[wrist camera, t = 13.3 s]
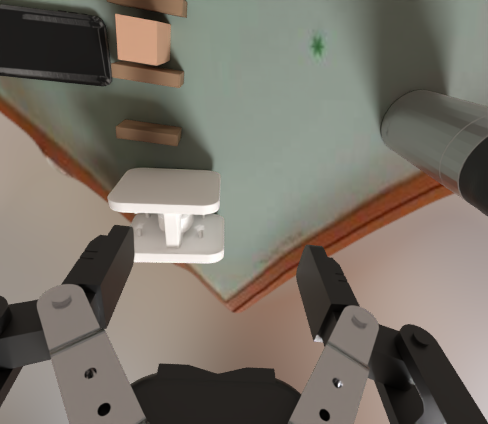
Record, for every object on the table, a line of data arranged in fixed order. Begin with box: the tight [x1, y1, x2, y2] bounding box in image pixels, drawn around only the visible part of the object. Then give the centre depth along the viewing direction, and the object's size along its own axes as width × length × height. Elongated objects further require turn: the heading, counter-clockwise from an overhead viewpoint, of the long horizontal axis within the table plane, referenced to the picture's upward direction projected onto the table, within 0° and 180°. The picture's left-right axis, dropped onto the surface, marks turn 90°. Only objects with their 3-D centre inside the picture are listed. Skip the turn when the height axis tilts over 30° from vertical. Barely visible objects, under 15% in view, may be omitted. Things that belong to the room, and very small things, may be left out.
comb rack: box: [107, 0, 187, 146], centre depth 36 cm, size 8×16×4 cm, turn 171°
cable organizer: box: [108, 168, 225, 263], centre depth 43 cm, size 15×11×12 cm
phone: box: [0, 4, 112, 86], centre depth 36 cm, size 8×1×15 cm
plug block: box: [115, 14, 171, 66], centre depth 33 cm, size 4×4×8 cm
